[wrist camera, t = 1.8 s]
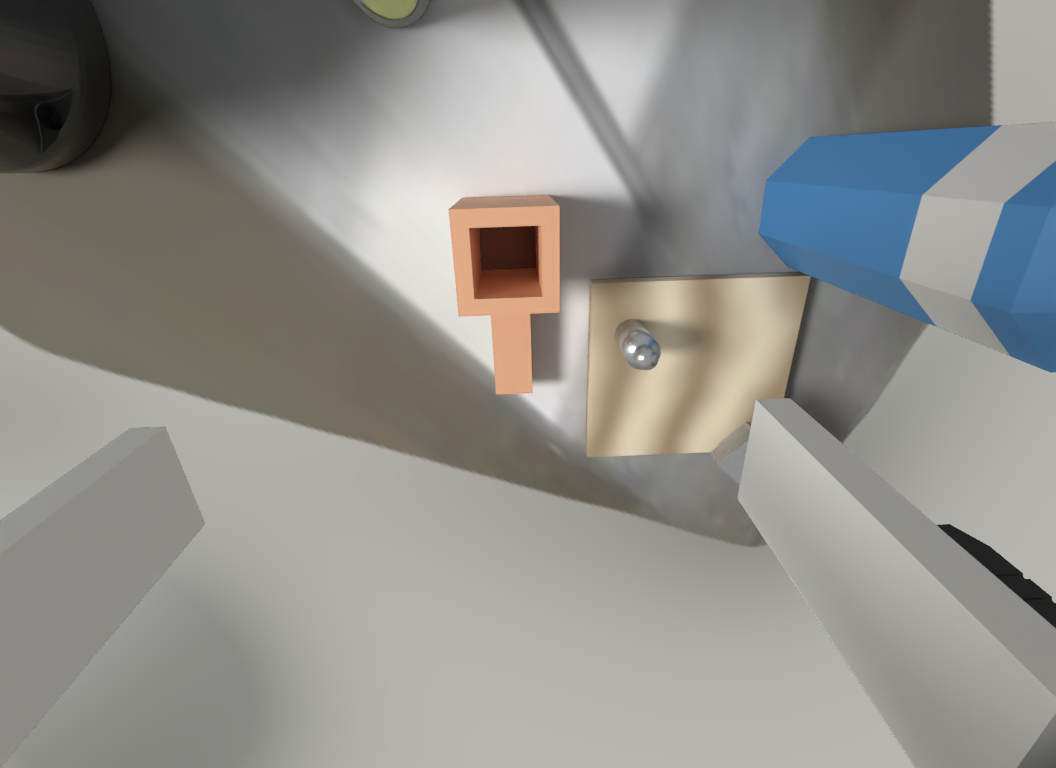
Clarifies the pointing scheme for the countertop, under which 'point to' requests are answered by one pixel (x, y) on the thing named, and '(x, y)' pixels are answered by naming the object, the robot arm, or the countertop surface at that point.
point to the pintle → (637, 345)
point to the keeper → (733, 452)
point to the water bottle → (930, 227)
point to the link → (507, 278)
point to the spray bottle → (393, 11)
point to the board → (688, 358)
